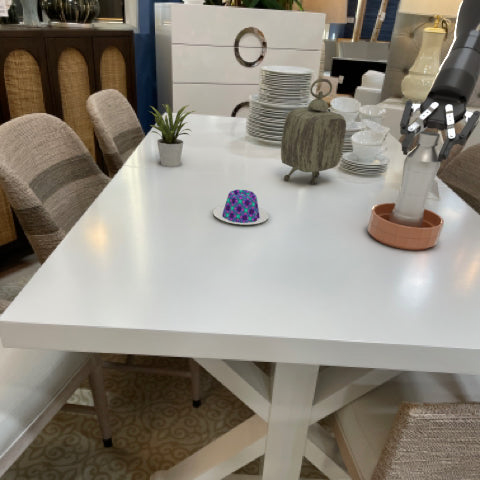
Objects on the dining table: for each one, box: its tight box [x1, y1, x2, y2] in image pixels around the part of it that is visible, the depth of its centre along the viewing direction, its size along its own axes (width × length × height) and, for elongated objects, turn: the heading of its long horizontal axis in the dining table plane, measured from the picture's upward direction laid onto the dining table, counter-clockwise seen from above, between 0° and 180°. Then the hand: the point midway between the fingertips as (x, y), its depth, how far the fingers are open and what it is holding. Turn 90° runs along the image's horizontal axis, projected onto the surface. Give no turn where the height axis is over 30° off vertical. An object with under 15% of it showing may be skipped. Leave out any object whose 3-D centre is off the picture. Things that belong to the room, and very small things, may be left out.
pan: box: [367, 202, 445, 251], centre depth 98 cm, size 14×14×5 cm
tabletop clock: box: [280, 78, 347, 185], centre depth 120 cm, size 14×9×25 cm, turn 124°
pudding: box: [212, 189, 269, 226], centre depth 101 cm, size 12×12×5 cm
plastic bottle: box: [389, 130, 441, 228], centre depth 93 cm, size 6×7×20 cm
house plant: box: [148, 102, 195, 168], centre depth 128 cm, size 14×14×16 cm
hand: (422, 155), depth 88 cm, fingers closed on plastic bottle, 6 cm apart
